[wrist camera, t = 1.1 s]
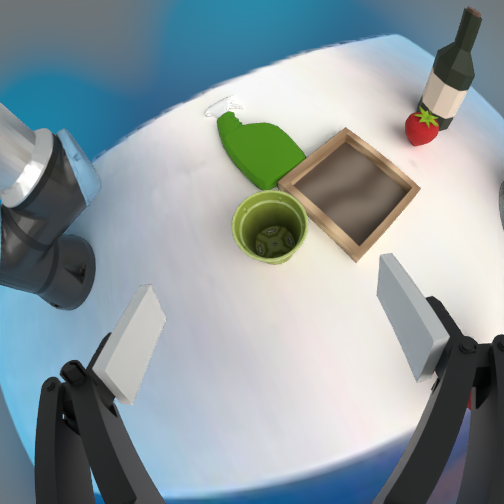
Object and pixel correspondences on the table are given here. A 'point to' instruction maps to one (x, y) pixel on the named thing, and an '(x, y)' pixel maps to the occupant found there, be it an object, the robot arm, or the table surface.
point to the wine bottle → (451, 72)
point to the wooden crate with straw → (501, 203)
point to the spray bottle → (256, 146)
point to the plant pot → (270, 226)
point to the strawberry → (421, 127)
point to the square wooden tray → (350, 191)
